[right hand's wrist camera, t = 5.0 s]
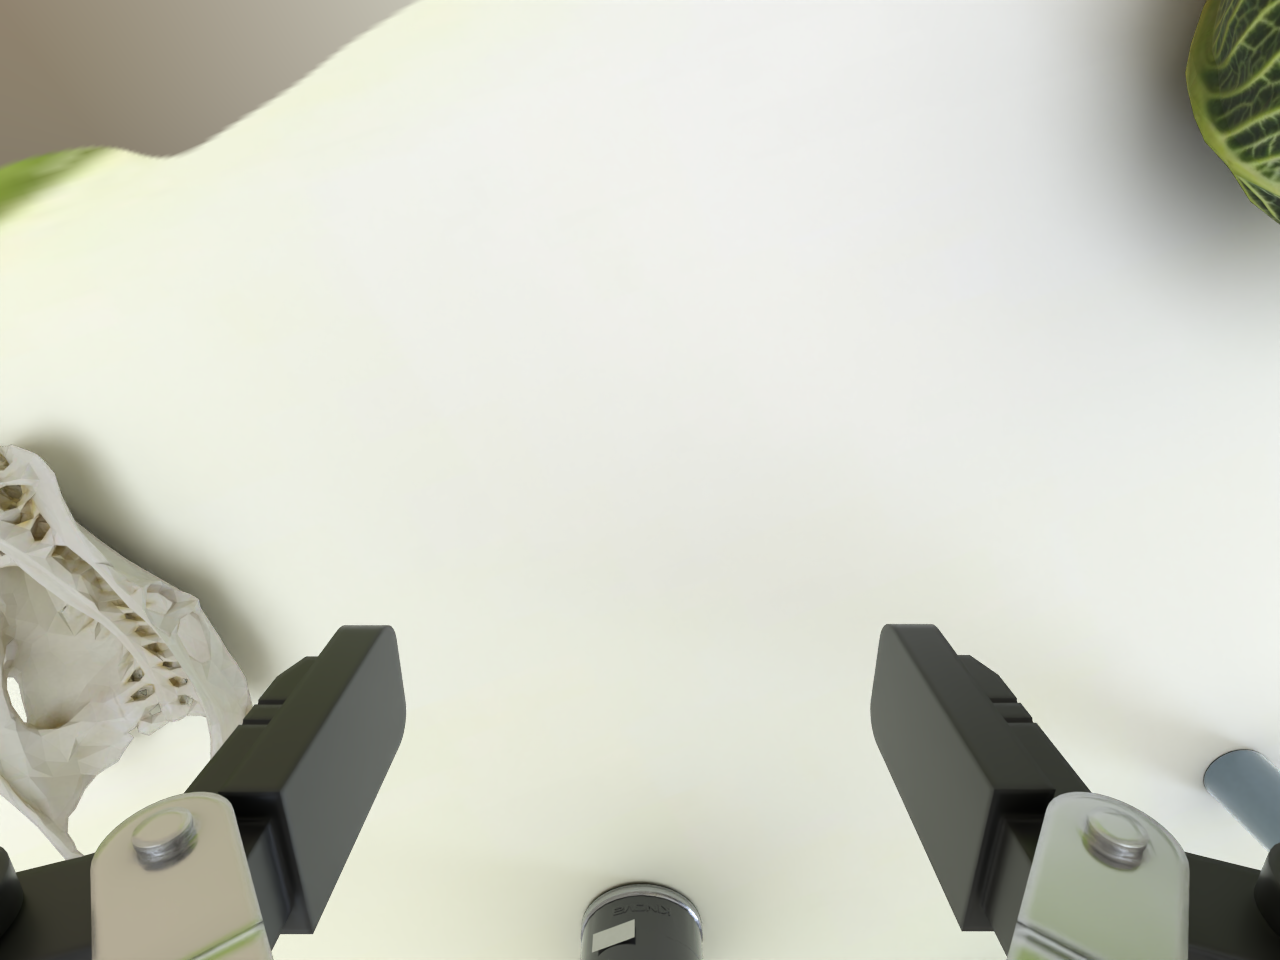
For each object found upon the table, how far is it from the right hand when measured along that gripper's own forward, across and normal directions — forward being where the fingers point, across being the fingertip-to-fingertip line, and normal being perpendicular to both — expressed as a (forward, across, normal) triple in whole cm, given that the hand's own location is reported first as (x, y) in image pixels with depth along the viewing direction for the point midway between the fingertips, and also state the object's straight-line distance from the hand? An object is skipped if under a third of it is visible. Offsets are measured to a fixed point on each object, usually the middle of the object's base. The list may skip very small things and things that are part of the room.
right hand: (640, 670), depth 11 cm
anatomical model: (+29, -33, -17) cm, 47 cm away
